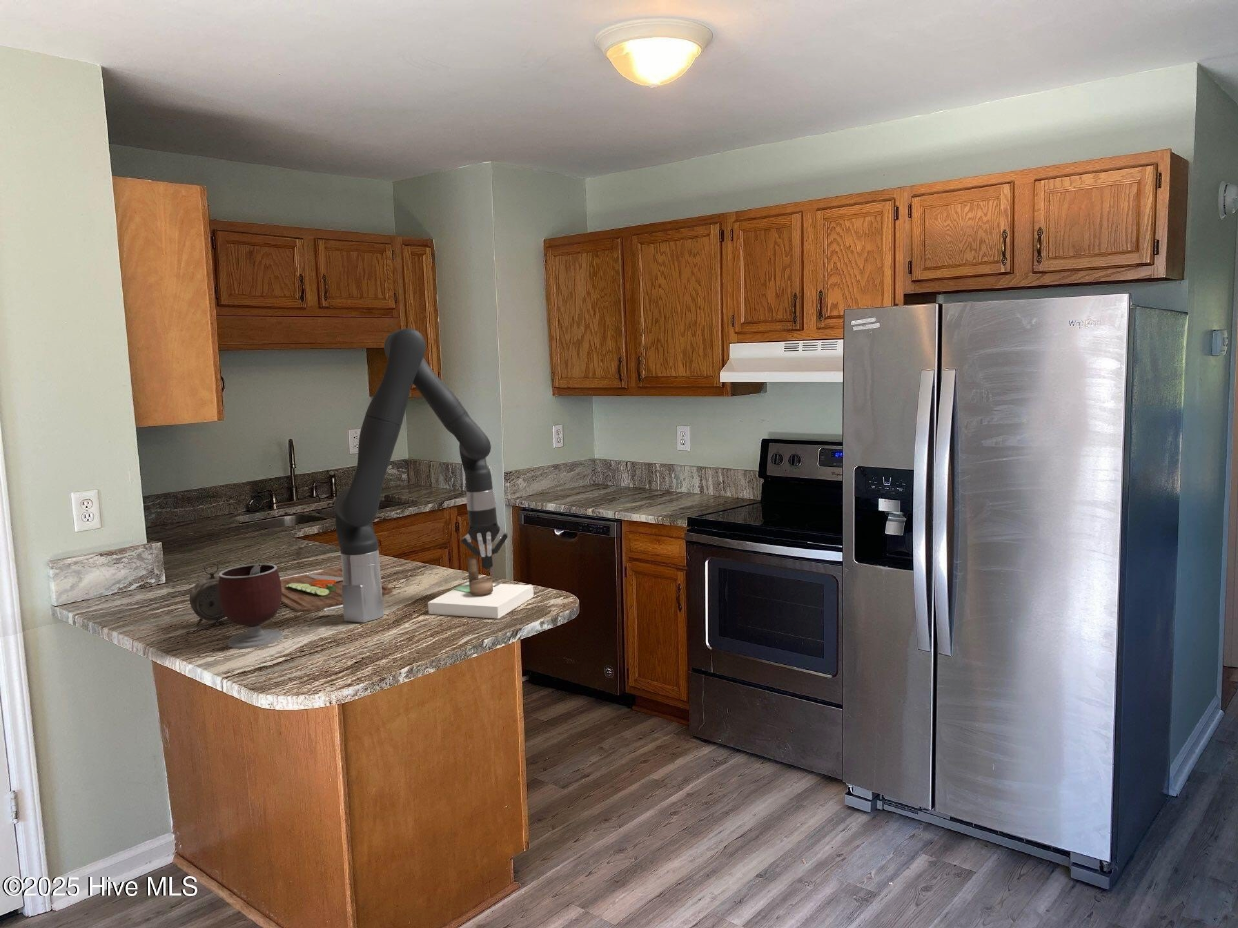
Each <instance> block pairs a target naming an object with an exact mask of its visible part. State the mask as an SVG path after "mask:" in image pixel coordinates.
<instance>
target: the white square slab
mask: <svg viewBox="0 0 1238 928" xmlns="http://www.w3.org/2000/svg"><path fill="white" fill-rule="evenodd" d="M532 598H534V585H531V584H527V585H526V584H513V583H510V584H508V583H500V582H497V583H493V592H491V593H488V594H482V595H474V594H471V593H470V586H469V581H466V582H465V583H463V584H461V585H459V586H457V587H455V588H452V589H451V590H450V591H449V590H448V592H445V593H443V594H441V595H439V596H437V597H436V598H434V599H432V600H430V601H428V602H427V607H428V615H439V616H440V615H441V616H456V617H457V616H458V617H470V618H482V619H483V618H484V619H486V618H487V619H500V618H502V617H504V616H505V615H506V614H509V612H511V611H513V610H515V609H516V608H518V607H519V606H521V605H523V604H524V603H525V602H527V601H528V600H530V599H532Z"/></svg>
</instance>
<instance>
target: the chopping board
mask: <svg viewBox="0 0 1238 928" xmlns="http://www.w3.org/2000/svg"><path fill="white" fill-rule="evenodd" d="M280 580H281V588H282V599H281V604H283V605H285V606H286V607H287V608H290V609H292V610H293V611H296V612H297V613H309V612H311V613H312V612H315V611H316V612H317V611H319V610H322V611H323V612H327V611H331V610H335V609H340V608H343V599H342V588H341V585H342V584H343V573H342V567H335V568H330V569H324V570H323V569H319V570H314V571H310V572H304V573H299V574H294V575H288V576H283V577H280ZM381 586H382V597H384V596H387V595H391V594H392V593H393V589H392V587H389V586H387V585H384V584H382V583H381Z"/></svg>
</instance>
